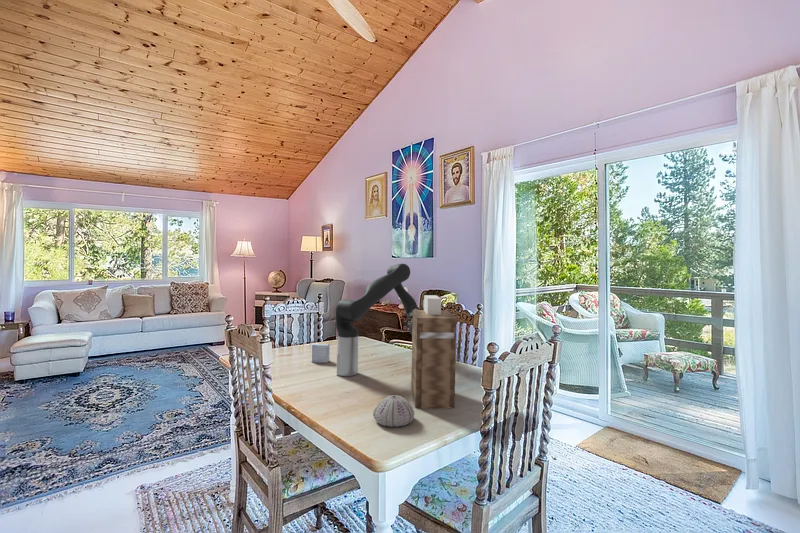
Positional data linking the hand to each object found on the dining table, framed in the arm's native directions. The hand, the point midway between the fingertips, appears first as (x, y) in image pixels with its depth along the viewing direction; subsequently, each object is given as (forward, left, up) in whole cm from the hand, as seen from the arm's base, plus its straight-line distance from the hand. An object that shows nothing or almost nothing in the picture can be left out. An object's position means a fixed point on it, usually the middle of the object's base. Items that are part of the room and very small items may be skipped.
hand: (422, 308), depth 183 cm
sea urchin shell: (-15, -55, -30) cm, 64 cm away
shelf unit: (0, -35, -30) cm, 46 cm away
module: (0, -27, +2) cm, 27 cm away
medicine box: (-49, +16, -30) cm, 59 cm away
